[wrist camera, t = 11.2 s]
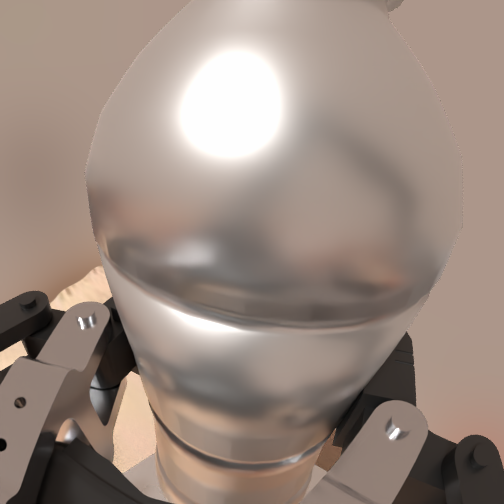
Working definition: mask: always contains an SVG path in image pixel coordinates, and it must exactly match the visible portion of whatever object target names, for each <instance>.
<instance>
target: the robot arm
mask: <svg viewBox="0 0 504 504" xmlns="http://www.w3.org/2000/svg"><path fill="white" fill-rule="evenodd" d="M20 340H21V341H22V343H23V345H24V348H25V350H26V352H27V354H28V355H27V356H22V357H19V358H18V359H17V360H16V361H15V362H14V363H13V364H12V365H10V366H8V367H7V368H5V369H3V370H2V371H0V504H174V503H170V502H166V501H162V500H158V499H154V498H151V497H148V496H146V495H144V494H143V493H142V492H141V491H140V490H138V489H137V488H136V487H135V486H134V485H133V484H132V483H131V482H130V481H129V480H128V479H127V478H126V477H125V476H124V475H123V474H122V473H121V472H120V471H119V470H118V469H117V468H116V467H115V466H114V465H113V464H112V462H113V456H114V445H113V430H114V426H115V423H116V419H117V416H118V412H119V409H120V405H121V402H122V399H123V395H124V392H125V389H126V385H127V379H126V376H127V375H128V373H129V372H130V371H132V372H134V373H136V374H138V375H140V374H139V370H138V367H137V364H136V360H135V357H134V353H133V351H132V348H131V346H130V343H129V341H128V338H127V335H126V333H125V330H124V328H123V325H122V322H121V319H120V317H119V314H118V311H117V308H116V305H115V302H114V299H113V297H111V298H110V299H109V300H107V301H106V302H105V303H103V304H101V303H98V302H83V303H79V304H77V305H74V306H73V307H71V308H70V309H68V310H67V311H66V312H65V311H60V310H55V309H51V307H50V304H49V300H48V297H47V295H46V294H45V293H43V292H40V291H29V292H26V293H23V294H21V295H19V296H17V297H15V298H13V299H11V300H9V301H7V302H5V303H3V304H1V305H0V352H1V351H3V350H4V349H6V348H8V347H10V346H11V345H13V344H15V343H17V342H18V341H20ZM413 365H414V359H413V347H412V340H411V338H410V336H409V335H408V333H407V331H406V333H405V334H404V336H403V337H402V339H401V340H400V341H399V343H398V344H397V346H396V347H395V348H394V350H393V351H392V353H391V354H390V355H389V357H388V358H387V359H386V361H385V362H384V363H383V365H382V366H381V367H380V368H379V370H378V371H377V372H376V374H375V375H374V376H373V377H372V379H371V380H370V381H369V382H368V384H367V385H366V386H365V387H364V389H363V390H362V391H361V392H360V394H359V395H358V397H357V398H356V400H355V401H354V403H353V404H352V406H351V407H350V409H349V410H348V412H347V413H346V415H345V416H344V418H343V419H342V420H341V422H340V423H339V425H338V426H337V427H336V432H335V436H334V440H333V444H332V445H333V446H338V447H342V452H341V456H340V458H339V459H338V460H337V462H336V463H335V464H334V465H333V466H332V468H331V469H330V470H329V471H328V472H327V474H326V475H325V476H324V477H323V478H322V479H321V480H320V481H319V482H318V483H317V484H316V486H315V487H314V488H313V489H312V490H311V491H310V492H309V493H308V494H307V495H306V496H305V498H304V499H303V500H302V501H301V502H300V503H299V504H504V469H503V465H502V462H501V459H500V455H499V452H498V450H497V448H496V446H495V445H494V444H493V443H492V442H491V441H490V440H489V439H488V438H486V437H484V436H481V435H470V436H468V437H465V438H464V439H462V440H461V441H460V442H459V443H458V444H456V443H453V442H451V441H448V440H446V439H444V438H442V437H440V436H437V435H435V434H434V433H432V432H431V431H429V430H428V424H427V421H426V418H425V417H424V415H423V414H422V412H421V411H420V410H419V409H418V408H416V391H415V390H416V388H415V371H414V366H413Z"/></svg>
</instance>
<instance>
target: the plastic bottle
mask: <svg viewBox="0 0 504 504" xmlns="http://www.w3.org/2000/svg"><path fill="white" fill-rule="evenodd" d="M402 2H403V0H192V1H190V3H188V4H187V5H186V6H185V7H184V8H183V9H182V10H181V11H180V12H178V14H177V15H176V16H174V17H173V18H172V19H171V20H170V21H169V22H168V23H167V24H166V25H165V26H164V27H163V28H162V29H161V30H160V31H159V32H158V33H157V34H156V36H155V37H154V38H153V39H152V40H151V41H150V42H149V43H148V44H147V45H146V46H145V47H144V48H143V50H142V51H141V52H140V53H139V54H138V56H137V57H136V58H135V60H134V61H133V63H132V64H131V66H130V67H129V68H128V70H127V71H126V73H125V74H124V76H123V77H122V79H121V80H120V82H119V83H118V85H117V87H116V88H115V90H114V91H113V93H112V94H111V96H110V98H109V99H108V101H107V103H106V105H105V106H104V108H103V110H102V111H101V113H100V116H99V120H98V123H97V126H96V130H95V133H94V137H93V141H92V144H91V148H90V152H89V156H88V160H87V164H86V169H85V179H86V187H87V193H88V201H89V209H90V216H91V223H92V228H93V233H94V236H95V241H96V242H97V246H98V249H99V254H100V257H101V261H102V265H103V268H104V271H105V275H106V278H107V281H108V284H109V287H110V290H111V293H112V296H113V299H114V302H115V305H116V308H117V311H118V314H119V317H120V319H121V322H122V325H123V328H124V330H125V333H126V335H127V338H128V341H129V343H130V346H131V348H132V351H133V353H134V357H135V360H136V364H137V367H138V370H139V374H140V377H141V380H142V384H143V387H144V390H145V393H146V395H147V397H148V400H149V405H150V408H151V411H152V413H153V416H154V425H155V433H156V441H157V444H156V449H155V464H156V475H157V479H158V482H159V486H160V488H161V490H162V492H163V494H164V496H165V497H166V499H167V500H168V501H169V502H170V503H174V504H299V503H300V502H301V501H302V500H303V498H304V496H305V494H306V491H307V489H308V486H309V484H310V481H311V477H312V471H313V467H314V465H315V463H316V461H317V459H318V456H319V454H320V452H321V450H322V448H323V445H324V443H325V442H326V441H327V439H328V438H329V437H330V435H331V434H332V432H333V431H334V429H335V428H336V427H337V426H338V425H339V423H340V422H341V420H342V419H343V418H344V416H345V415H346V413H347V412H348V410H349V409H350V407H351V406H352V404H353V403H354V401H355V400H356V398H357V397H358V395H359V394H360V392H361V391H362V390H363V389H364V387H365V386H366V385H367V384H368V382H369V381H370V380H371V379H372V377H373V376H374V375H375V374H376V372H377V371H378V370H379V368H380V367H381V366H382V365H383V363H384V362H385V361H386V359H387V358H388V357H389V355H390V354H391V353H392V351H393V350H394V348H395V347H396V346H397V344H398V343H399V341H400V340H401V339H402V337H403V336H404V334H405V333H406V331H407V330H408V328H409V327H410V325H411V324H412V322H413V321H414V319H415V318H416V316H417V315H418V313H419V312H420V310H421V308H422V307H423V305H424V303H425V302H426V300H427V299H428V297H429V294H430V291H431V289H432V288H433V287H434V286H435V284H436V283H437V282H438V280H439V279H440V277H441V275H442V273H443V271H444V268H445V266H446V264H447V262H448V259H449V257H450V255H451V252H452V250H453V248H454V245H455V243H456V241H457V239H458V236H459V234H460V231H461V229H462V224H463V223H462V222H463V171H462V156H461V153H460V150H459V147H458V144H457V142H456V139H455V136H454V133H453V131H452V128H451V125H450V123H449V120H448V118H447V115H446V113H445V110H444V108H443V106H442V103H441V101H440V99H439V96H438V94H437V92H436V90H435V88H434V85H433V84H432V82H431V80H430V78H429V77H428V75H427V73H426V72H425V70H424V69H423V67H422V66H421V64H420V62H419V61H418V59H417V58H416V56H415V55H414V53H413V52H412V50H411V49H410V47H409V46H408V44H407V43H406V41H405V40H404V39H403V37H402V36H401V34H400V33H399V32H398V30H397V29H396V28H395V26H394V25H393V24H392V22H391V21H390V20H389V14H388V12H390V11H392V10H394V9H395V8H397V7H398V6H400V5H401V3H402Z"/></svg>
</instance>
